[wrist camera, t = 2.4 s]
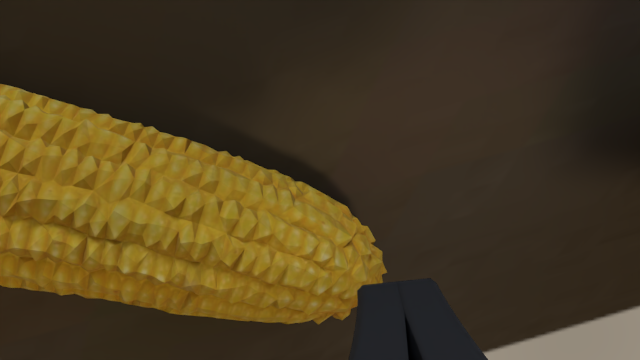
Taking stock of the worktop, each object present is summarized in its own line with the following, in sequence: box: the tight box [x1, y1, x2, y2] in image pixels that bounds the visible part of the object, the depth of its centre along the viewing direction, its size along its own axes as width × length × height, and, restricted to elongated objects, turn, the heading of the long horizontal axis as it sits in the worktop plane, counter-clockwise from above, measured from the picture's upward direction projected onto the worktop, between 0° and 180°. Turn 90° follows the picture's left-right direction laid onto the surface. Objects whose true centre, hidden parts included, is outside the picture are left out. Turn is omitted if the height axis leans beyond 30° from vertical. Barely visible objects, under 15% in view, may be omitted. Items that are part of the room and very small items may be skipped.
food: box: [0, 84, 387, 324], centre depth 16 cm, size 21×6×6 cm, turn 73°
